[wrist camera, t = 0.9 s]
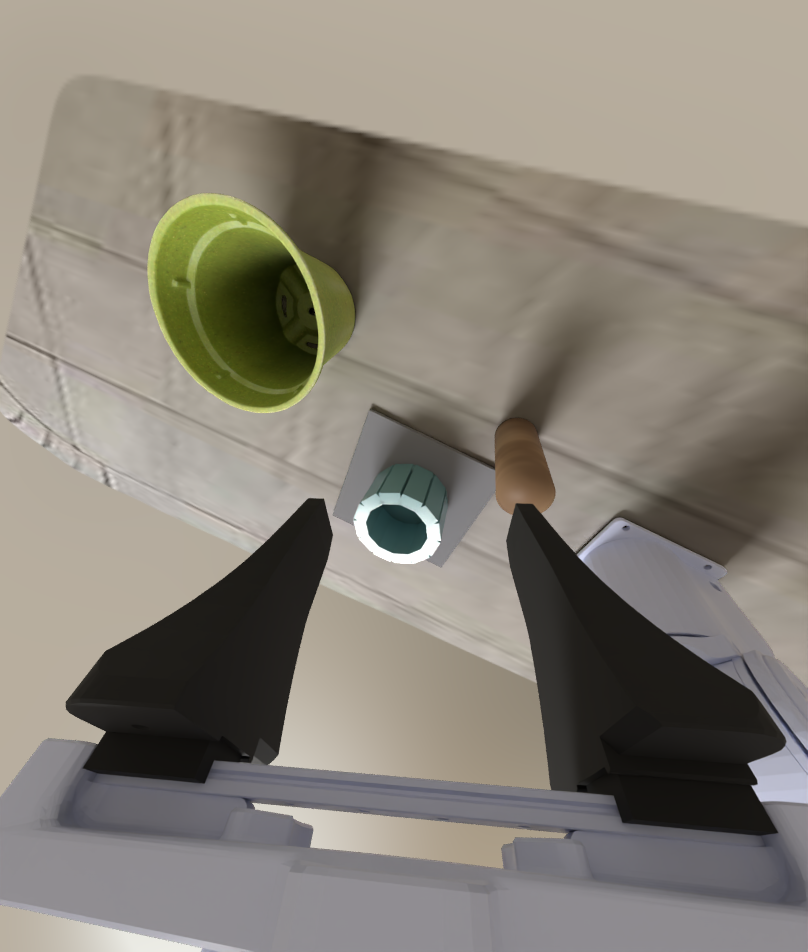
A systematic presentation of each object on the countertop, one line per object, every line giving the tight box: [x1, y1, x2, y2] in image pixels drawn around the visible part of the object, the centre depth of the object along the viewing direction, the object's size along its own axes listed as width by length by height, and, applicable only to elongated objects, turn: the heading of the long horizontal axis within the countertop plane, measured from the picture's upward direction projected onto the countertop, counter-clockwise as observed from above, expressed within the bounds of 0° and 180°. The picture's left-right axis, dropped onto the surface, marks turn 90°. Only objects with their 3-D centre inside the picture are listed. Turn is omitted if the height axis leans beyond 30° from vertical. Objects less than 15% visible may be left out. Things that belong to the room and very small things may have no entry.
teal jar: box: [353, 464, 448, 564], centre depth 26 cm, size 7×7×5 cm
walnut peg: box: [495, 418, 555, 515], centre depth 20 cm, size 3×3×8 cm
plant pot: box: [148, 193, 355, 413], centre depth 19 cm, size 9×9×9 cm
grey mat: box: [333, 409, 496, 567], centre depth 28 cm, size 12×12×1 cm
